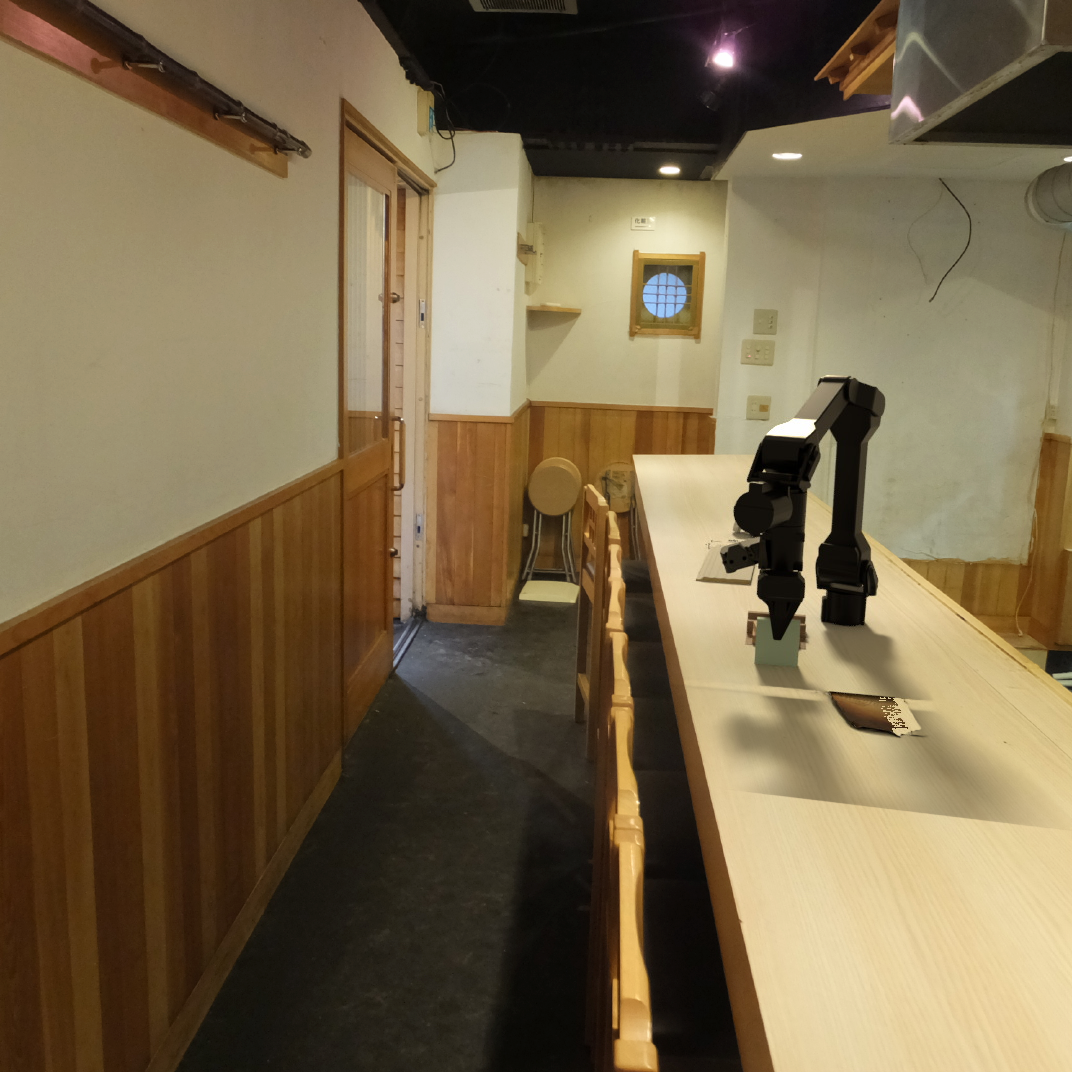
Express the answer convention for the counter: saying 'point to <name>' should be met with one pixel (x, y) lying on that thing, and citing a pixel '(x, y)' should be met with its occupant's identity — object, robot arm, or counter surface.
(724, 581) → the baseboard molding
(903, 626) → the counter surface
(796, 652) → the block
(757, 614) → the rack
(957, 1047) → the counter surface
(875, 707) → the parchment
